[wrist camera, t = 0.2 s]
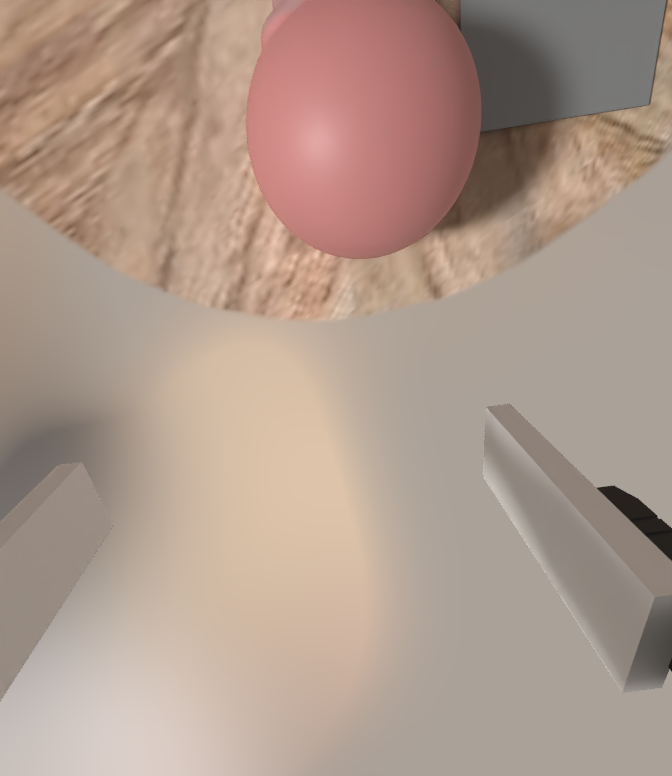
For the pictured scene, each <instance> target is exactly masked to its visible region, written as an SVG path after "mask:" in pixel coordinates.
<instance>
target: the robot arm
mask: <svg viewBox="0 0 672 776" xmlns="http://www.w3.org/2000/svg"><path fill="white" fill-rule="evenodd" d="M483 477H484V478H485V480H486V482H487V483H488V485H489V486H490V488H491V490H492V491H493V493H494V494H495V496H496V497H497V499H498V500H499V502H500V503H501V505H502V506H503V508H504V510H505V511H506V513H507V514H508V516H509V518H510V519H511V521H512V522H513V523H514V525H515V527H516V528H517V530H518V532H519V533H520V534H521V536H522V538H523V539H524V541H525V542H526V544H527V546H528V547H529V549H530V550H531V552H532V553H533V555H534V556H535V558H536V559H537V561H538V563H539V564H540V565H541V567H542V569H543V571H544V572H545V574H546V575H547V577H548V578H549V580H550V581H551V583H552V585H553V586H554V588H555V589H556V591H557V592H558V594H559V595H560V597H561V599H562V600H563V602H564V603H565V605H566V606H567V608H568V609H569V611H570V612H571V614H572V616H573V617H574V619H575V620H576V622H577V623H578V625H579V626H580V628H581V630H582V631H583V633H584V634H585V636H586V637H587V639H588V640H589V642H590V644H591V645H592V647H593V648H594V650H595V651H596V653H597V655H598V656H599V658H600V659H601V661H602V662H603V664H604V665H605V667H606V668H607V670H608V671H609V673H610V675H611V676H612V678H613V679H614V681H615V683H616V684H617V686H618V687H619V689H620V690H621V692H622V693H625V692H632V691H640V690H647V689H655V688H662V686H663V684H664V681H665V679H666V676H667V674H668V672H669V669H670V670H671V671H672V528H671V527H669V526H668V525H667V524H666V523H665V522H664V521H663V520H662V519H658V518H657V515H656V514H655V513H654V512H652V511H651V510H650V509H649V508H648V507H647V506H646V505H644V504H643V503H642V502H641V501H640V500H639V499H638V498H636V497H634V496H632V495H630V494H628V493H626V492H624V491H623V490H621V489H619V488H617V487H615V486H607V487H600V488H596V487H595V486H594V485H593V484H592V483H591V482H590V481H589V480H588V479H587V478H585V476H584V475H582V474H581V473H580V472H579V471H578V470H577V469H576V468H575V467H574V466H573V465H572V464H571V463H570V462H569V461H568V460H567V459H566V458H565V457H564V456H563V455H562V454H561V453H560V452H559V451H558V450H557V449H556V448H555V447H554V446H553V445H552V444H551V443H550V442H548V440H546V439H545V438H544V437H543V436H542V435H541V434H540V433H539V432H538V431H537V430H536V429H535V428H534V427H533V426H532V425H531V424H530V423H529V422H528V421H527V420H526V419H525V418H524V417H523V416H522V415H521V414H520V413H519V412H518V411H517V410H516V409H515V408H514V407H512V405H510V404H505V405H498V406H490V407H486V420H485V442H484V462H483ZM112 527H113V524H112V522H111V520H110V518H109V516H108V514H107V512H106V510H105V508H104V506H103V504H102V502H101V500H100V498H99V496H98V494H97V492H96V490H95V488H94V486H93V484H92V482H91V480H90V478H89V476H88V474H87V472H86V470H85V468H84V466H83V464H82V462H78V463H70V464H64V465H58V466H57V467H56V468H55V469H54V470H53V471H52V472H51V473H50V474H49V475H48V476H47V477H46V478H45V479H44V480H43V481H42V482H40V484H38V486H36V487H35V488H34V489H33V490H32V491H31V492H30V493H29V494H28V495H27V496H26V497H25V498H24V499H23V500H22V501H21V502H20V503H19V504H18V505H17V506H16V507H15V508H14V509H13V510H12V511H11V512H10V513H9V514H8V515H7V516H6V517H5V518H4V519H3V520H2V521H1V522H0V701H1V699H2V698H3V696H4V695H5V693H6V692H7V690H8V688H9V687H10V685H11V684H12V682H13V681H14V679H15V677H16V676H17V675H18V673H19V671H20V670H21V668H22V667H23V665H24V663H25V662H26V661H27V659H28V658H29V656H30V654H31V653H32V651H33V650H34V648H35V647H36V645H37V644H38V642H39V640H40V639H41V637H42V636H43V634H44V633H45V631H46V630H47V628H48V626H49V625H50V623H51V622H52V620H53V619H54V617H55V616H56V614H57V613H58V611H59V609H60V608H61V606H62V605H63V603H64V602H65V600H66V599H67V597H68V595H69V594H70V592H71V591H72V589H73V588H74V586H75V585H76V583H77V581H78V580H79V578H80V577H81V575H82V574H83V572H84V571H85V569H86V567H87V566H88V564H89V563H90V561H91V560H92V558H93V557H94V555H95V554H96V552H97V550H98V549H99V547H100V546H101V544H102V543H103V541H104V539H105V538H106V537H107V535H108V533H109V532H110V530H111V529H112Z"/></svg>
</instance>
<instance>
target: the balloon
mask: <svg viewBox="0 0 672 776" xmlns="http://www.w3.org/2000/svg"><path fill="white" fill-rule="evenodd" d="M272 2H273V11H272V12H271V13H270V15H269V16H268V17H267V19H266V21H265V23H264V25H263V29H262V36H261V41H262V50H261V54H260V56H259V59H258V61H257V64H256V67H255V70H254V73H253V76H252V80H251V84H250V89H249V95H248V102H247V113H246V132H247V143H248V150H249V155H250V160H251V164H252V168H253V171H254V174H255V177H256V180H257V183H258V185H259V187H260V190H261V192H262V194H263V196H264V198H265V199H266V201H267V203H268V204H269V206H270V208H271V209H272V211H273V212H274V213H275V215H276V216H277V217H278V219H279V220H280V221H281V222H282V223H283V224H284V225H285V226H286V227H287V228H288V229H289V230H290V231H291V232H292V233H293V234H294V235H295V236H297V237H298V238H299V239H301V240H302V241H303V242H305V243H306V244H308V245H310V246H312V247H313V248H315V249H317V250H320V251H322V252H325V253H327V254H330V255H334V256H338V257H343V258H350V259H368V258H376V257H381V256H385V255H388V254H392V253H394V252H397V251H399V250H402V249H404V248H406V247H408V246H409V245H411V244H413V243H415V242H416V241H418V240H419V239H421V238H422V237H423V236H425V235H426V234H427V233H428V232H430V231H431V230H432V229H433V228H434V227H435V226H436V225H437V224H438V223H439V222H440V221H441V220H442V219H443V218H444V216H445V215H446V214H447V213H448V211H449V210H450V209H451V207H452V206H453V204H454V203H455V201H456V200H457V198H458V197H459V195H460V193H461V191H462V189H463V188H464V186H465V183H466V181H467V179H468V177H469V174H470V172H471V169H472V166H473V163H474V160H475V156H476V152H477V148H478V143H479V137H480V129H481V110H482V109H481V93H480V85H479V79H478V75H477V70H476V67H475V63H474V60H473V57H472V54H471V52H470V49H469V47H468V45H467V43H466V41H465V39H464V37H463V35H462V33H461V31H460V30H459V28H458V26H457V25H456V24H455V22H454V21H453V19H452V18H451V17H450V15H449V14H448V13H447V12H446V11H445V10H444V8H443V7H442V6H441V5H440V4H438V3H437V2H436V1H435V0H272Z"/></svg>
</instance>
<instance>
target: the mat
mask: <svg viewBox="0 0 672 776" xmlns="http://www.w3.org/2000/svg"><path fill="white" fill-rule="evenodd" d="M665 5H666V0H459V30H460V31H461V33H462V35H463V37H464V39H465V41H466V43H467V45H468V47H469V49H470V52H471V54H472V57H473V60H474V63H475V67H476V70H477V75H478V79H479V85H480V93H481V109H482V110H481V129H480V132H484V131H491V130H497V129H503V128H509V127H516V126H522V125H528V124H534V123H541V122H547V121H553V120H559V119H566V118H572V117H578V116H584V115H591V114H597V113H603V112H609V111H616V110H622V109H628V108H634V107H641V106H646V105H649V100H650V94H651V88H652V82H653V76H654V70H655V64H656V58H657V52H658V46H659V40H660V34H661V28H662V23H663V17H664V11H665Z"/></svg>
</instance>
